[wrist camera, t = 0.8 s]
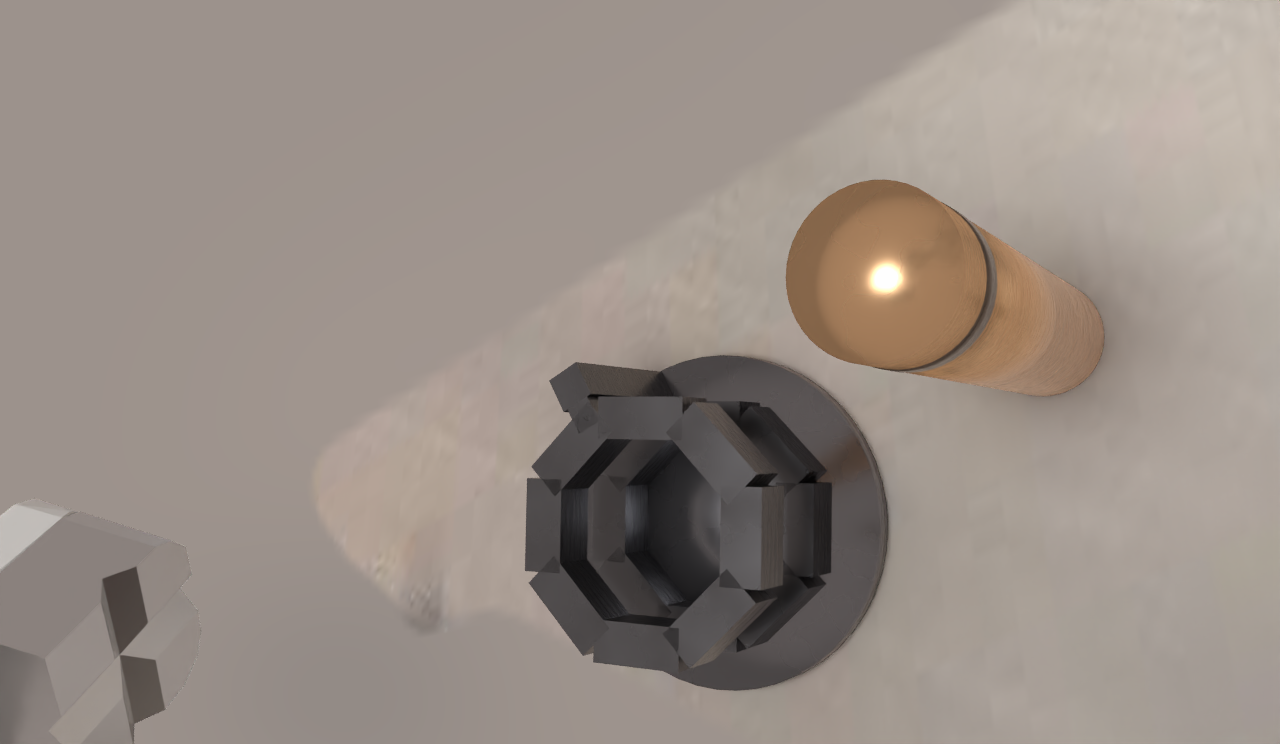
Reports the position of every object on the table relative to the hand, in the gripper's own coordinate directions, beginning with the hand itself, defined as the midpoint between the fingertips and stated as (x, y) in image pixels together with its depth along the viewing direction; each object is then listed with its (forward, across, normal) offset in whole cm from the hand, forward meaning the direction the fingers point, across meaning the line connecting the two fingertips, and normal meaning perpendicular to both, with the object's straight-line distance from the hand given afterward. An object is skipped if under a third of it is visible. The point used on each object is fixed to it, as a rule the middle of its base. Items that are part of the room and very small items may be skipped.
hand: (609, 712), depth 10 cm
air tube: (+36, -7, +15) cm, 39 cm away
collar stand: (+33, +4, +25) cm, 42 cm away
